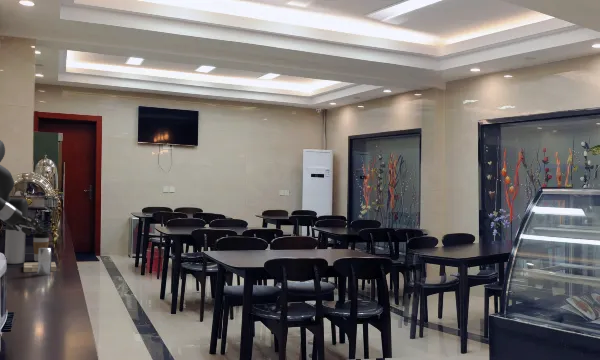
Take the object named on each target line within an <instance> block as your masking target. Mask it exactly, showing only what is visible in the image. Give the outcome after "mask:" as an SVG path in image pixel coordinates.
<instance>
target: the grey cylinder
mask: <svg viewBox="0 0 600 360" xmlns="http://www.w3.org/2000/svg"><path fill="white" fill-rule="evenodd" d="M52 253H53V250H52V247H48V248H39V253H38V261H37V263H38V272H37V275H38V276H50V275H51V272H52V271H51V262H52Z"/></svg>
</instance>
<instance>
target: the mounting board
mask: <svg viewBox="0 0 600 360" xmlns="http://www.w3.org/2000/svg"><path fill="white" fill-rule="evenodd" d="M56 271H57V264H56V262H55V261H51V272H56ZM23 273H38V262H24V263H23Z"/></svg>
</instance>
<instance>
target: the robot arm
mask: <svg viewBox="0 0 600 360" xmlns="http://www.w3.org/2000/svg"><path fill="white" fill-rule="evenodd" d="M5 155H6V147H5V144H4V142H3V141H2V139H1V140H0V163H2V161H3V159H4V158H5ZM14 186H15V180H14V177H13V175H12V173H11V171H10V170H9V169H7V168H6V167H5V166H3V165H1V164H0V220H1V221H2V222H4V223H6V225H5V240H4V241H5V245H4V257H5V256H6V258H7V263H6V264H11V265H12V264H13V265H14V264H15V265H17V264H24V263H25V257H26V236H28V237H29V236H31V234H32V231H31V230H30V229H32V230H34V231H35V232H36V233H37V232H38V233H40V234H41V233H42V232H44V228H42V227H41V226H39V224H40V223H39V222H38V221H37V220H35V219H34V218H33V217H31V216H28V210H29V209H28V208H29V204H28V200H27V199H26V198H15V197H14V198H13V197H11V196H10V194H11V192H12V190H13V189H14Z"/></svg>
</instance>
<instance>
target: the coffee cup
mask: <svg viewBox="0 0 600 360" xmlns="http://www.w3.org/2000/svg"><path fill="white" fill-rule="evenodd" d="M32 238H33V241H32V244H33V245H32V246H33V247H32V248H33V258H34V259H33V260H34V261H35V262H38V253H39V248H49V244H50V243H49V240H50V239H49V238H50V232H49V231H43V232H42V233H41V234H40V233H38V232H37V231H36V232H33V235H32Z"/></svg>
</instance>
